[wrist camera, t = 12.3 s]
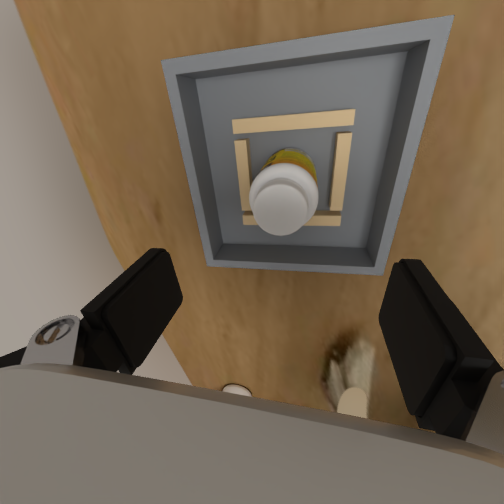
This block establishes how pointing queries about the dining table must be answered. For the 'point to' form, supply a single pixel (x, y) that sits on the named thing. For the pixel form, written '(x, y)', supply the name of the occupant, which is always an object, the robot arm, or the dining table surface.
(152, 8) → the dining table surface
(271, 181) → the supplement bottle
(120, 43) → the dining table surface
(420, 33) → the walled box
